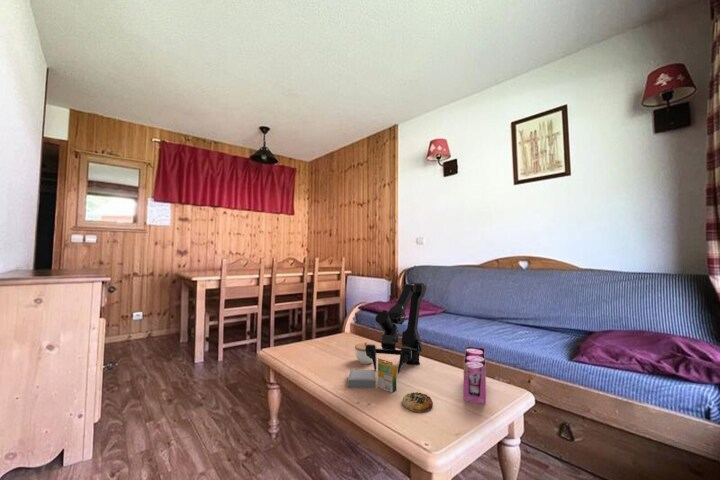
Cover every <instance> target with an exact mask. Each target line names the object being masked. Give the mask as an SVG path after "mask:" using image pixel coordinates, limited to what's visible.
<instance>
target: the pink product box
mask: <svg viewBox="0 0 720 480" xmlns="http://www.w3.org/2000/svg"><path fill="white" fill-rule="evenodd" d="M485 351H486V350H485V347H483V348H482V347H475V346H465V352H464V353H465V354H464V359H463V392H462V393H463V397H462V398H463V401H465V402H471V403H474V404H475V403H476V404H481V403H482V404H481V405H487V401H486V400H487V398H486V397H487V395H486V394H487V389H486V388H487V385H486V384H487V381H486V380H487V375H486V374H487V371H486V370H487V367H486V366H487V365H486V353H485Z"/></svg>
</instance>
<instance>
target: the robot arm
mask: <svg viewBox="0 0 720 480" xmlns="http://www.w3.org/2000/svg"><path fill="white" fill-rule="evenodd" d="M426 291H427V286H426V285H425V284H424V282H410V283H405V284H404V285H403V290H402V291H401V293H400V295H399V298H398V300H397V301H396V303H395V305H393V306H391V307H390V309H389V310H385V309H383V310H382V311H380V312H379V313H377V315H375V319H374V320H375V322H376V323H377V325H378V326H379V328H380V329H381V330H382V331H383V334H382V335H381V340H380V341H381V344H380V345H381V348H379V347H377V348H376V346H377V345H376V344H375V345H370V344H367V345H366V348H365V351H366V355H367V356H368V357H369V358H370V359H372V360H373V361H372V364H373V370H375V372H376V373H377V363H378V358H377V354H381V355H396V356H399V361H398V366H397V367H398V368H397V375H399V374H400V373H401V370H402V368H403V366H404V365H405V364H406V365H418V366H419V365H421V363H420V362H421V361H420V352H423V344H422V341H421V340H420V338H421V337H420V333H419V331H418V326H419V317H420V309H421V308H420V307H421V302H422V300H423V298H424V297H425V293H426ZM408 305H409V313H408V320H407V325H406V326H407V328H406V329H405V330H404V331H402V335H401V336H402V338H401V341H400V340H399V339H400V338H399V337H400V335H399V334H398V332H399V329H398V326H397V325H403V324H404V322H405V319H406V309H407V307H408ZM399 342H401V345H402V346H401V349H397V344H399Z"/></svg>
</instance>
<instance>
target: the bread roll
mask: <svg viewBox="0 0 720 480" xmlns="http://www.w3.org/2000/svg"><path fill="white" fill-rule="evenodd" d="M401 401H402V402H401V403H402V405H403V406H404V408H405V409H407V410H410V411H412V412H414V413H425V412H428V411H431V410H432V409H433V407H434V402H433V400H432V398H431V396H429V395H428V394H426V393H421V392H418V391H416V392H414V391H413V392H410V393H407V394H404V395H403V396H402V400H401Z"/></svg>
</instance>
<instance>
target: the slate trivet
mask: <svg viewBox="0 0 720 480" xmlns="http://www.w3.org/2000/svg"><path fill="white" fill-rule="evenodd" d="M376 373H377V371H376V372H375V370H374V369H349V374H348V379H347V387H348V388H350V389H351V388H352V389H376V388H377V381H376V380H377V377H376Z"/></svg>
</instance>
